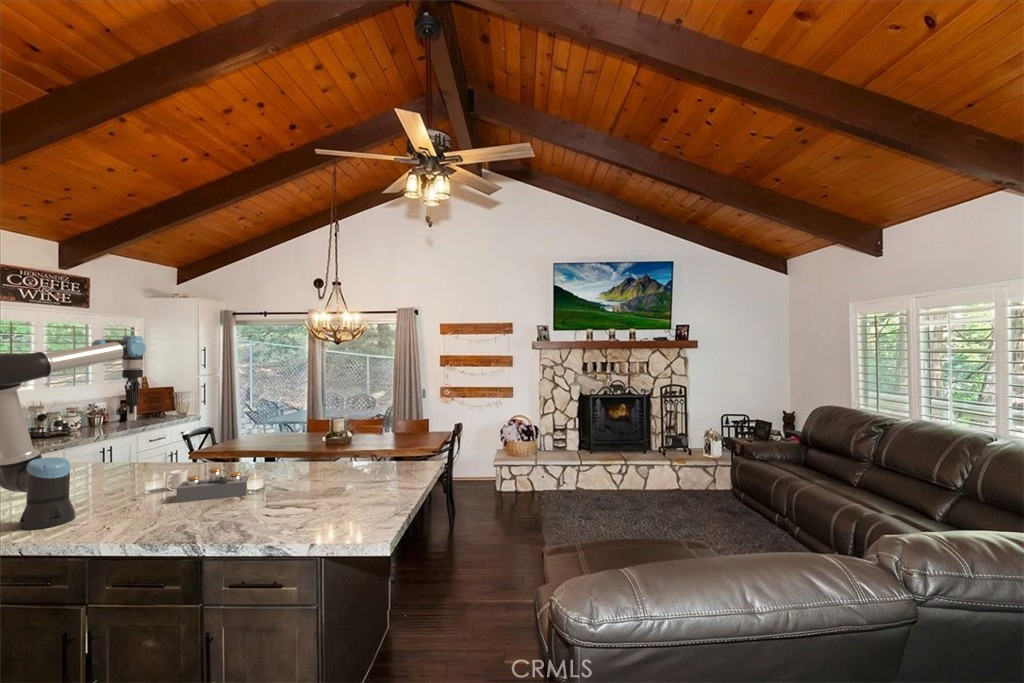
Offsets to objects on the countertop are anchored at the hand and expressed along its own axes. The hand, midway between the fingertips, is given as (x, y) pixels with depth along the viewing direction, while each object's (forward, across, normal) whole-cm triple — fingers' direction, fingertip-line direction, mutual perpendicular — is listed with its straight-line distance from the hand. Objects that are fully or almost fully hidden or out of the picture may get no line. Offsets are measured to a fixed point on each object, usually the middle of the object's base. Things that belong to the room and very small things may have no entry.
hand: (132, 420), depth 222 cm
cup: (+33, -5, -18) cm, 38 cm away
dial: (+26, -27, -41) cm, 55 cm away
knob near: (+30, -23, -29) cm, 47 cm away
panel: (+32, -23, -37) cm, 54 cm away
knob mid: (+27, -23, -37) cm, 51 cm away
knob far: (+30, -23, -45) cm, 58 cm away
